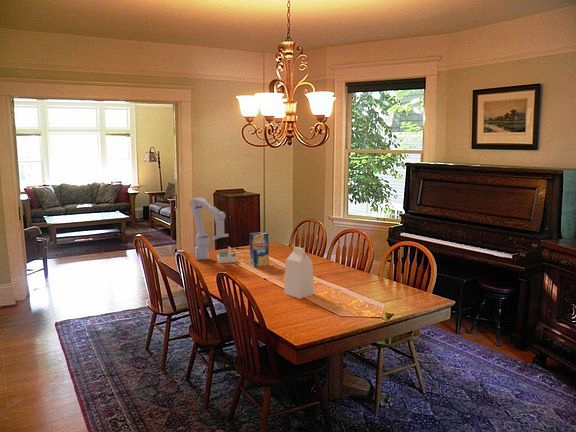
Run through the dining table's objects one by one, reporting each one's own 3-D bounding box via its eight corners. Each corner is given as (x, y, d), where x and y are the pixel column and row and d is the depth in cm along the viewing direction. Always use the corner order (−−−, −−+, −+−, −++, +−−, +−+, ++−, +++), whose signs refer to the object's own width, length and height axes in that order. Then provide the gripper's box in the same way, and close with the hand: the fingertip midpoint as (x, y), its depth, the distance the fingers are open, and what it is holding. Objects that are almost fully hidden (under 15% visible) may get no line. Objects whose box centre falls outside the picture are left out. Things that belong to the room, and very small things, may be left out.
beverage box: (268, 265, 326) (268, 233, 323) (254, 267, 321) (253, 235, 318) (264, 262, 332) (263, 231, 329) (250, 264, 327) (249, 233, 324)
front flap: (219, 251, 327) (220, 252, 326) (228, 250, 329) (228, 251, 328) (219, 255, 331) (219, 257, 331) (227, 255, 333) (227, 256, 332)
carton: (219, 263, 332) (218, 257, 332) (217, 260, 341) (216, 254, 340) (236, 261, 336) (236, 256, 335) (233, 259, 344) (233, 253, 344)
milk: (284, 293, 264) (283, 247, 260) (298, 289, 272) (298, 244, 268) (299, 298, 256) (299, 251, 252) (314, 293, 264) (314, 247, 260)
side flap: (230, 249, 333) (231, 248, 334) (228, 247, 341) (229, 246, 341) (235, 255, 335) (236, 254, 335) (233, 252, 343) (234, 251, 343)
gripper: (216, 231, 322) (217, 251, 324) (231, 228, 333) (232, 247, 335) (209, 230, 326) (209, 249, 328) (224, 227, 337) (224, 246, 340)
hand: (220, 248), depth 332 cm, fingers closed
